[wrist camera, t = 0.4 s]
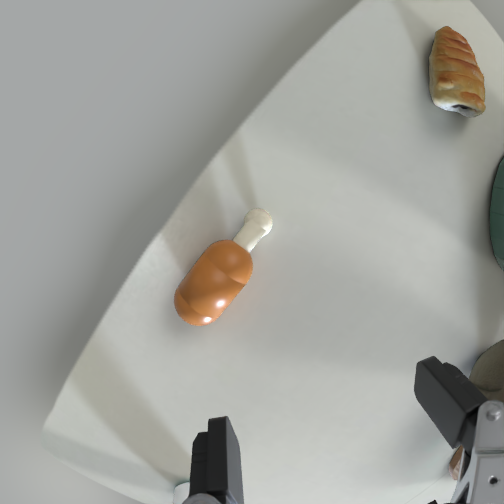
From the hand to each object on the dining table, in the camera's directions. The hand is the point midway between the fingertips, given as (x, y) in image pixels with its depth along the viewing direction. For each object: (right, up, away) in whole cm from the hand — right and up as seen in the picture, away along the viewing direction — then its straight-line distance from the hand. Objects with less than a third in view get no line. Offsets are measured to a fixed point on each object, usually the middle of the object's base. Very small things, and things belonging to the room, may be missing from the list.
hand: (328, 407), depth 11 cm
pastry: (+16, +23, +12) cm, 31 cm away
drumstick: (-5, +5, +15) cm, 17 cm away
